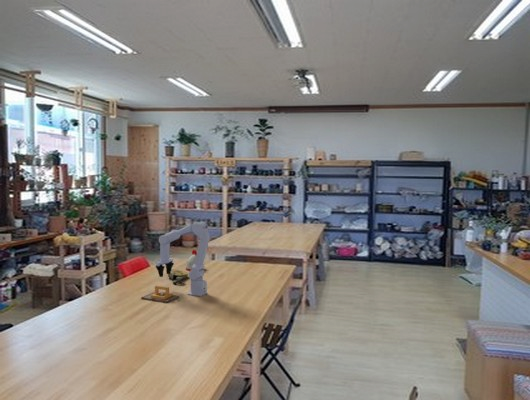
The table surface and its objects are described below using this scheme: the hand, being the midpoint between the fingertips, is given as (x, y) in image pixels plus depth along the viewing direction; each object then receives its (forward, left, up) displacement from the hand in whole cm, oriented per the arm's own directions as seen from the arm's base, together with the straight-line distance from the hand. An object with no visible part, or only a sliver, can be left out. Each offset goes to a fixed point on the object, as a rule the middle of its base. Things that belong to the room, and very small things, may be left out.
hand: (164, 275), depth 252 cm
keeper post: (-9, +15, -9) cm, 20 cm away
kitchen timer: (+15, -59, -10) cm, 62 cm away
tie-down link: (-9, +15, -8) cm, 19 cm away
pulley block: (+8, -26, -10) cm, 29 cm away
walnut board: (-8, +15, -9) cm, 19 cm away
